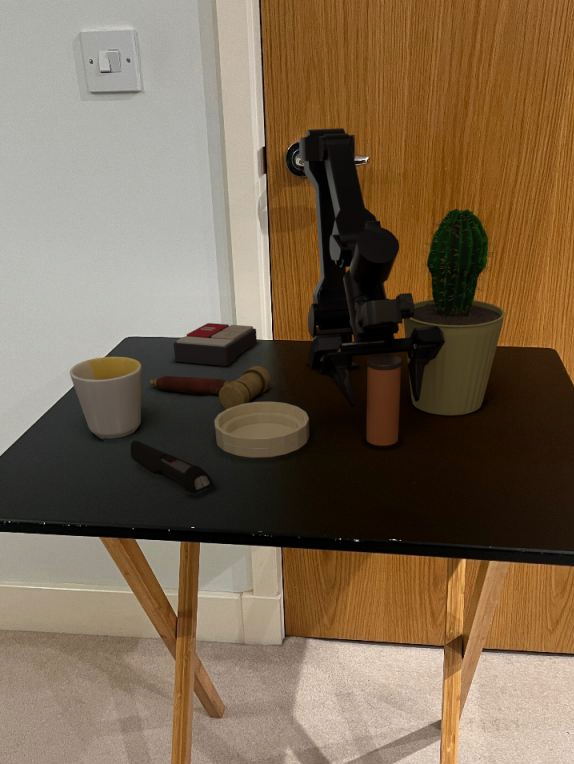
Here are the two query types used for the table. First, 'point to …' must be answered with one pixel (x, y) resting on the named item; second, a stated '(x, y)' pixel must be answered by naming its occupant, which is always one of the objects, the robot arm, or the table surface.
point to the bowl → (262, 429)
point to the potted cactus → (457, 318)
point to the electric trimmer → (171, 467)
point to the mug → (109, 394)
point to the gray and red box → (215, 344)
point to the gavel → (220, 386)
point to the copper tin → (383, 399)
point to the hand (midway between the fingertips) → (385, 403)
